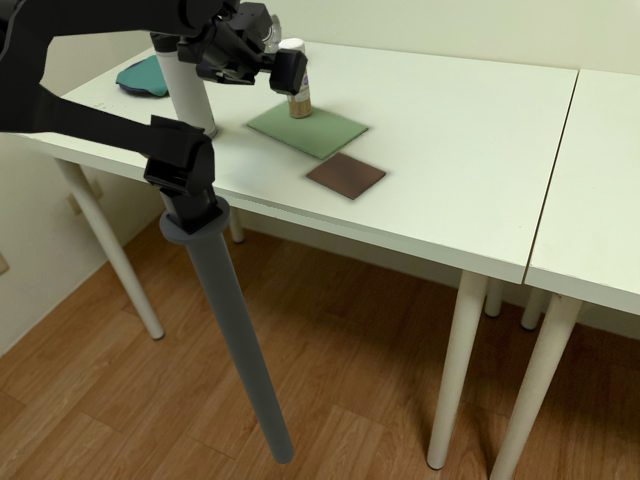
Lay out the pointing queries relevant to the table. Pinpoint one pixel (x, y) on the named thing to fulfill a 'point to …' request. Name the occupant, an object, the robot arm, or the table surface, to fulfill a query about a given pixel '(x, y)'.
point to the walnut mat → (346, 175)
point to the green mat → (308, 130)
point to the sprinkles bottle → (301, 101)
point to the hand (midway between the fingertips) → (276, 86)
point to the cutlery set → (143, 77)
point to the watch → (272, 37)
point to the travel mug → (183, 85)
